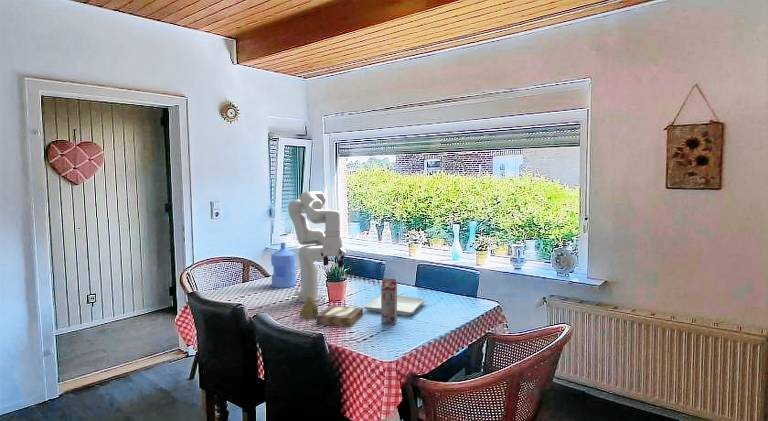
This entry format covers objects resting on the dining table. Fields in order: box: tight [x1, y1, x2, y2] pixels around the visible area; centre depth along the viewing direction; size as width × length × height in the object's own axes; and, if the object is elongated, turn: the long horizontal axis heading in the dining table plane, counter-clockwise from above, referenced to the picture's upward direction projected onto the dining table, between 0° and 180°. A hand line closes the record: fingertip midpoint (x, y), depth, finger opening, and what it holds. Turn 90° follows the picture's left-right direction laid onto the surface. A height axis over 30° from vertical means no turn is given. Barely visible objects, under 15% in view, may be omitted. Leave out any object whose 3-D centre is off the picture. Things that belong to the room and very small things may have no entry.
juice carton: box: [380, 277, 398, 326], centre depth 235 cm, size 7×7×22 cm
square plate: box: [363, 295, 427, 316], centre depth 261 cm, size 27×27×4 cm
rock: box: [298, 297, 319, 320], centre depth 245 cm, size 11×9×10 cm
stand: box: [315, 305, 364, 327], centre depth 241 cm, size 18×18×4 cm
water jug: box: [270, 242, 297, 289], centre depth 313 cm, size 16×16×28 cm
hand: (333, 266), depth 250 cm, fingers open, 9 cm apart
